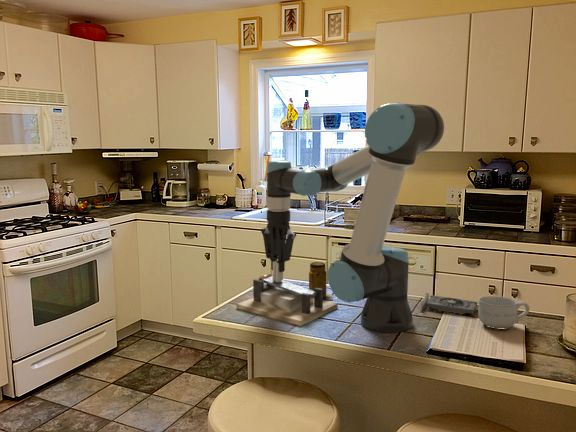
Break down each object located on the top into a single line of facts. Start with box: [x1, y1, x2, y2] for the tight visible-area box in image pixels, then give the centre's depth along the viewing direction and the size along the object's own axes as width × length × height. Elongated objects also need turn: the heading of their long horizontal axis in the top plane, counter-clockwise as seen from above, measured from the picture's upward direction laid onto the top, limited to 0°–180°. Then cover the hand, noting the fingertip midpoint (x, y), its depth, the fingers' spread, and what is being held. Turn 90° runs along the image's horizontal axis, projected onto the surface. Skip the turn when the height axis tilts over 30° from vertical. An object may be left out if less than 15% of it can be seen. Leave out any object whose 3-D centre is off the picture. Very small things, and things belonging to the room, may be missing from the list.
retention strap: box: [258, 273, 319, 299], centre depth 164 cm, size 21×5×2 cm, turn 52°
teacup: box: [477, 295, 530, 329], centre depth 148 cm, size 14×11×8 cm
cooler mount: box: [236, 274, 339, 327], centre depth 165 cm, size 26×20×8 cm
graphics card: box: [419, 292, 478, 315], centre depth 163 cm, size 17×4×12 cm
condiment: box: [308, 261, 333, 301], centre depth 176 cm, size 7×8×12 cm
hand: (277, 280), depth 167 cm, fingers closed
